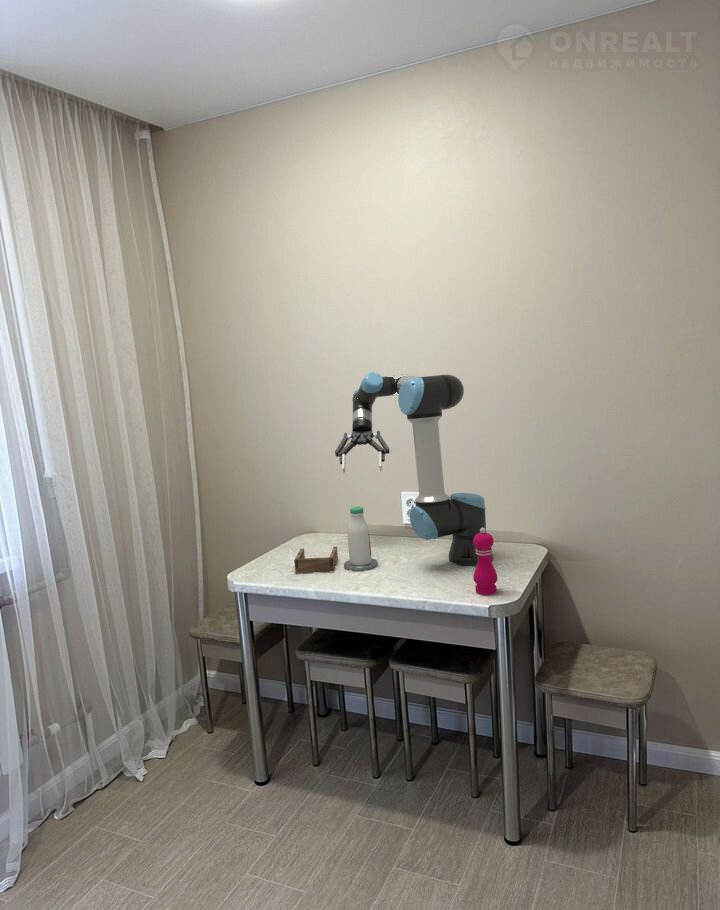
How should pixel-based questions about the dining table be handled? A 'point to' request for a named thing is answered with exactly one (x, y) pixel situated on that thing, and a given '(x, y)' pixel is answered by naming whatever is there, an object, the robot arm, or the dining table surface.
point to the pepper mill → (484, 564)
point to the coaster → (361, 568)
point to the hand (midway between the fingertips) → (362, 469)
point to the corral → (315, 563)
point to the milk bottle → (358, 538)
